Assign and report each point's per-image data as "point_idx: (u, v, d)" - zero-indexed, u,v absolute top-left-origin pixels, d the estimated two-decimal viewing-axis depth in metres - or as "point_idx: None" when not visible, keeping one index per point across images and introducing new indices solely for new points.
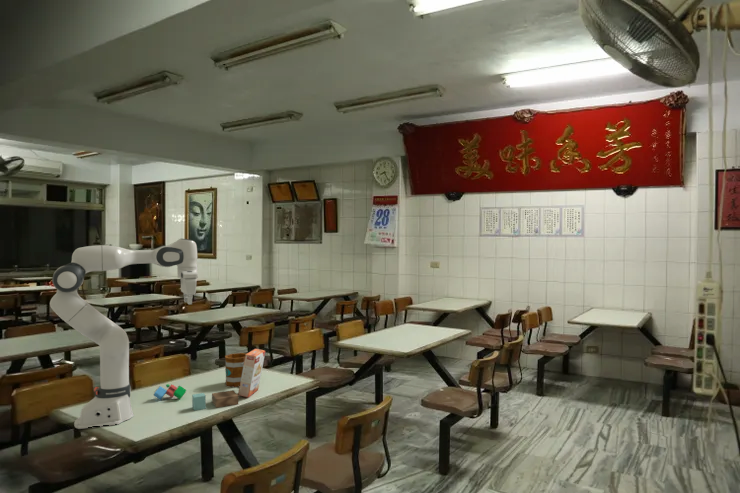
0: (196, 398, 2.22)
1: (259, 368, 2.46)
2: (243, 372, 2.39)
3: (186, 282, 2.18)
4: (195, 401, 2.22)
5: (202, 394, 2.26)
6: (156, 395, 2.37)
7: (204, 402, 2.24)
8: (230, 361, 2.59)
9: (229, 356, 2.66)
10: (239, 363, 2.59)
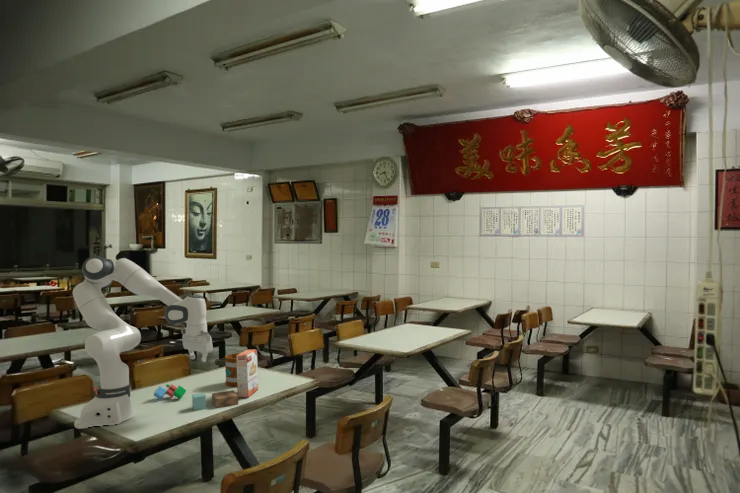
0: (196, 398, 2.22)
1: (254, 367, 2.47)
2: (238, 373, 2.39)
3: None
4: (195, 401, 2.22)
5: (202, 394, 2.26)
6: (156, 395, 2.37)
7: (204, 402, 2.24)
8: (230, 361, 2.59)
9: (229, 356, 2.66)
10: None
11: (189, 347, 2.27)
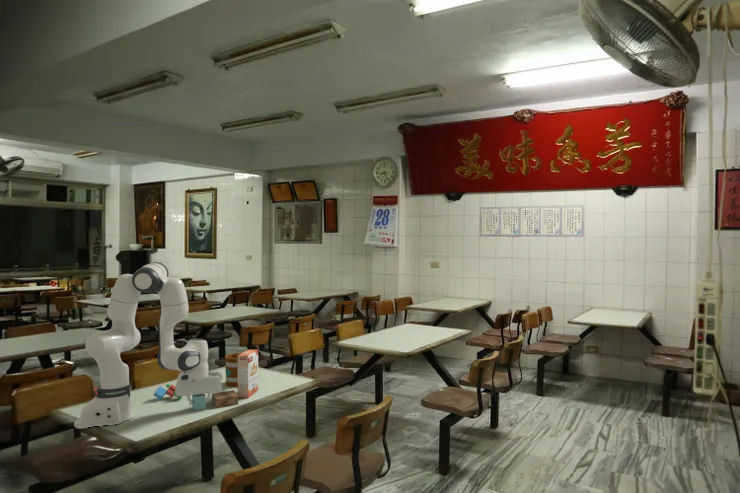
0: (196, 398, 2.22)
1: (254, 367, 2.47)
2: (238, 373, 2.39)
3: None
4: (195, 401, 2.22)
5: (202, 394, 2.26)
6: (156, 395, 2.37)
7: (204, 402, 2.24)
8: (230, 361, 2.59)
9: (229, 356, 2.66)
10: None
11: (189, 392, 2.22)
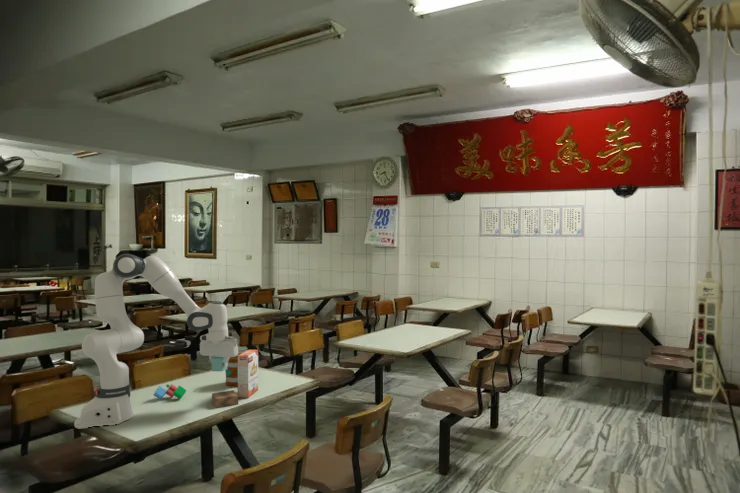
0: (213, 359, 2.29)
1: (254, 367, 2.47)
2: (238, 373, 2.39)
3: None
4: (212, 362, 2.29)
5: (222, 357, 2.31)
6: (156, 395, 2.37)
7: (220, 364, 2.28)
8: (230, 361, 2.59)
9: None
10: None
11: (209, 353, 2.31)
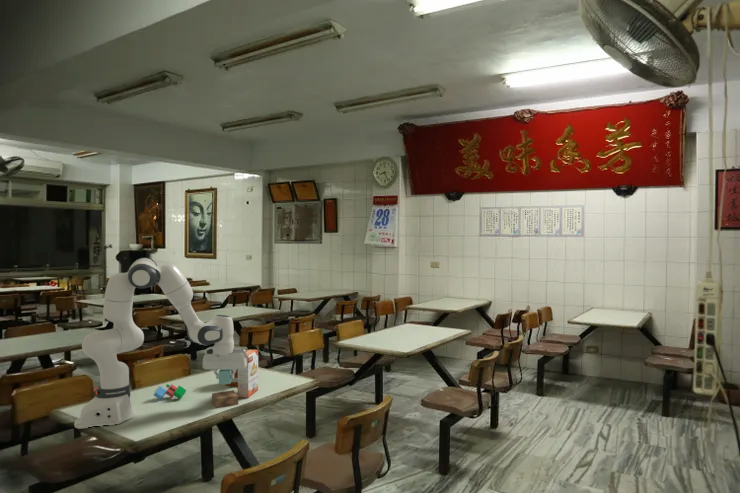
0: (220, 372, 2.29)
1: (254, 367, 2.47)
2: (238, 373, 2.39)
3: None
4: (220, 375, 2.29)
5: (228, 369, 2.32)
6: (156, 395, 2.37)
7: (228, 377, 2.29)
8: None
9: None
10: None
11: (214, 367, 2.30)
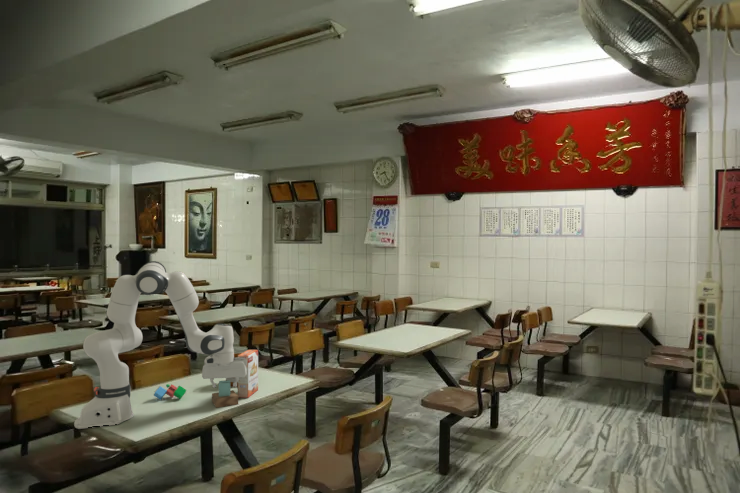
0: (221, 384, 2.29)
1: (254, 367, 2.47)
2: None
3: None
4: (220, 387, 2.29)
5: (228, 381, 2.32)
6: (156, 395, 2.37)
7: (228, 389, 2.30)
8: None
9: None
10: None
11: (214, 376, 2.29)
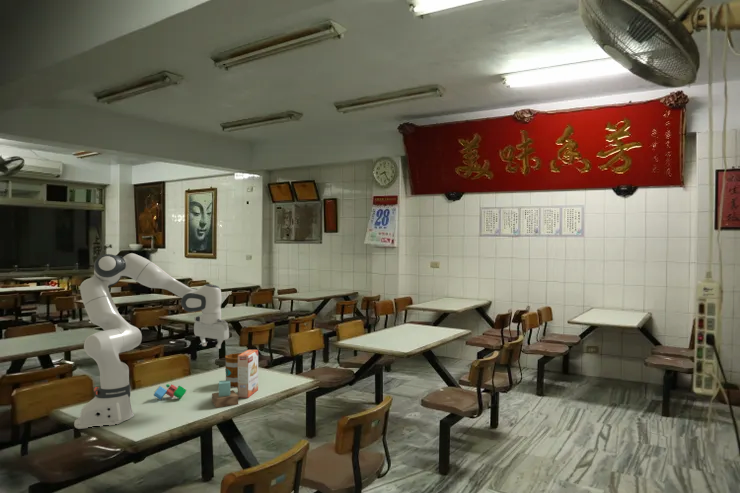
0: (221, 384, 2.29)
1: (254, 367, 2.47)
2: (238, 373, 2.39)
3: None
4: (220, 387, 2.29)
5: (228, 381, 2.32)
6: (156, 395, 2.37)
7: (228, 389, 2.30)
8: (230, 361, 2.59)
9: (229, 356, 2.66)
10: None
11: (202, 334, 2.35)
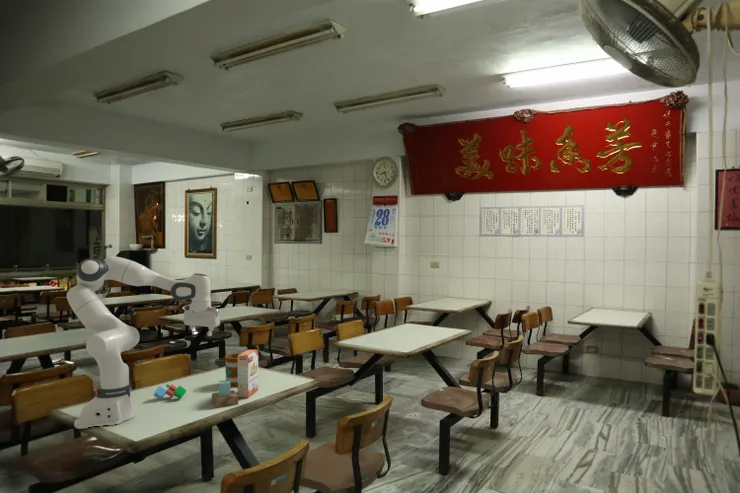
0: (221, 384, 2.29)
1: (254, 367, 2.47)
2: (238, 373, 2.39)
3: None
4: (220, 387, 2.29)
5: (228, 381, 2.32)
6: (156, 395, 2.37)
7: (228, 389, 2.30)
8: (230, 361, 2.59)
9: (229, 356, 2.66)
10: None
11: (192, 323, 2.38)
